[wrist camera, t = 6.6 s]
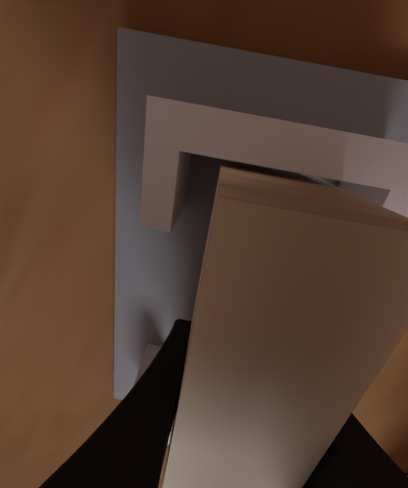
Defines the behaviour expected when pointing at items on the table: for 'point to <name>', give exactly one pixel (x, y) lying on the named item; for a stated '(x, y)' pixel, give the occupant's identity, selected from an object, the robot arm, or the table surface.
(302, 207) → the beige rectangular block
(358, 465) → the robot arm
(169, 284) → the board
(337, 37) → the table surface
